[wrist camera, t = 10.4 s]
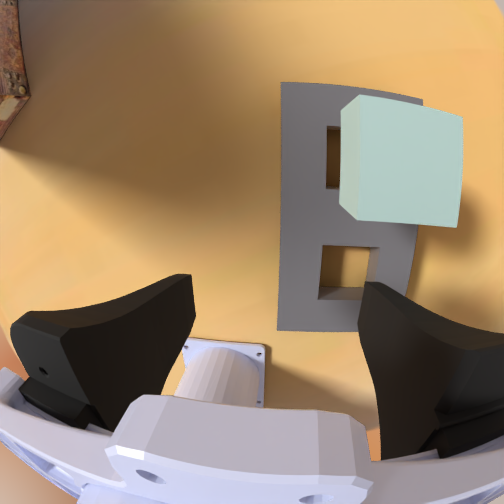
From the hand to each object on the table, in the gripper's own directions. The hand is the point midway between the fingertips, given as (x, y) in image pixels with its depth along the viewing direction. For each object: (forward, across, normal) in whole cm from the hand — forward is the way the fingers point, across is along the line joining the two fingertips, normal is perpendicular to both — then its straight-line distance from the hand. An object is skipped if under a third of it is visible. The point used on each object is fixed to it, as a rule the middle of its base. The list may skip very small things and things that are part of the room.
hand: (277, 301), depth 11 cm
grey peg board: (+10, -5, -2) cm, 12 cm away
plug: (+6, -5, -6) cm, 9 cm away
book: (+11, +36, -25) cm, 45 cm away
